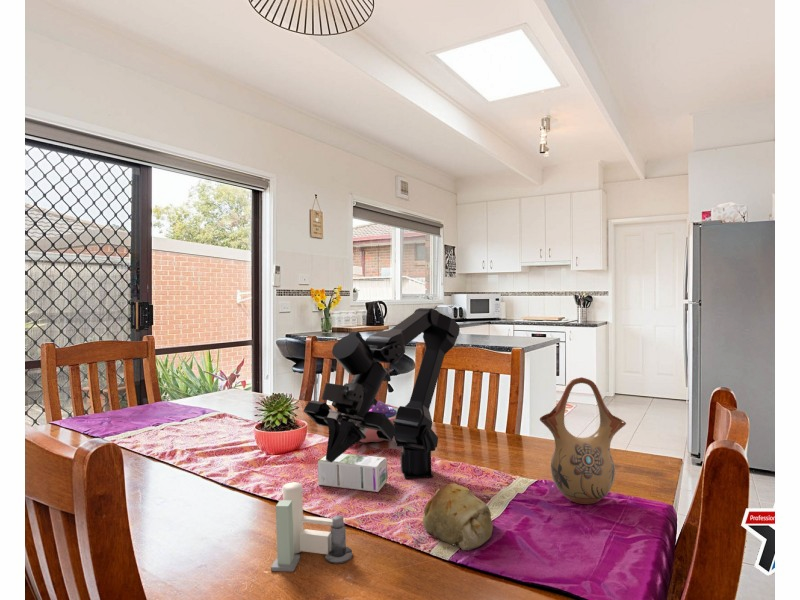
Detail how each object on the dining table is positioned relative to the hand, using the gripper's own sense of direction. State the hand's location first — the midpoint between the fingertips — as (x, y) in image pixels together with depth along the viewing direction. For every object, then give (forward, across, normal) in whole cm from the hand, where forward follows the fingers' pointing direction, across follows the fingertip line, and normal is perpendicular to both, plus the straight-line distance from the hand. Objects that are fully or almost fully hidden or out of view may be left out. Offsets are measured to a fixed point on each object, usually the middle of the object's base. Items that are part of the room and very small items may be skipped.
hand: (328, 461), depth 89 cm
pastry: (+1, +21, +17) cm, 27 cm away
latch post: (+18, +2, 0) cm, 18 cm away
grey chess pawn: (+13, +8, +4) cm, 16 cm away
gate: (+14, +3, +3) cm, 15 cm away
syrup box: (-4, -15, +18) cm, 24 cm away
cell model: (-20, -23, +41) cm, 51 cm away
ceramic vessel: (-15, +37, +33) cm, 52 cm away
